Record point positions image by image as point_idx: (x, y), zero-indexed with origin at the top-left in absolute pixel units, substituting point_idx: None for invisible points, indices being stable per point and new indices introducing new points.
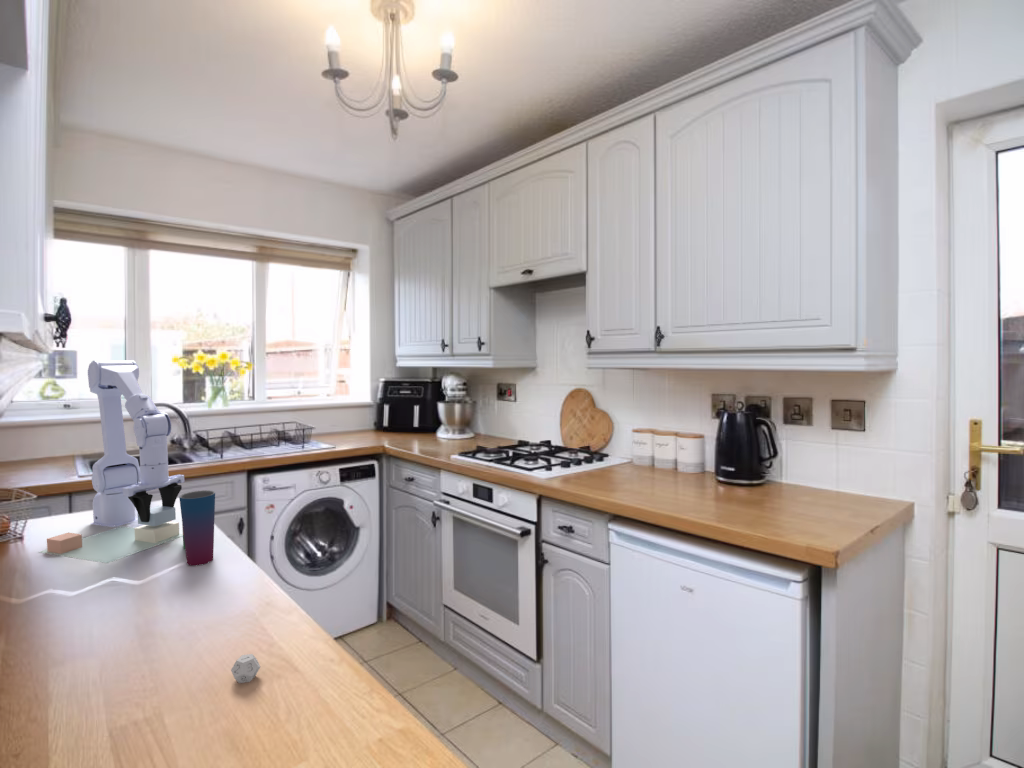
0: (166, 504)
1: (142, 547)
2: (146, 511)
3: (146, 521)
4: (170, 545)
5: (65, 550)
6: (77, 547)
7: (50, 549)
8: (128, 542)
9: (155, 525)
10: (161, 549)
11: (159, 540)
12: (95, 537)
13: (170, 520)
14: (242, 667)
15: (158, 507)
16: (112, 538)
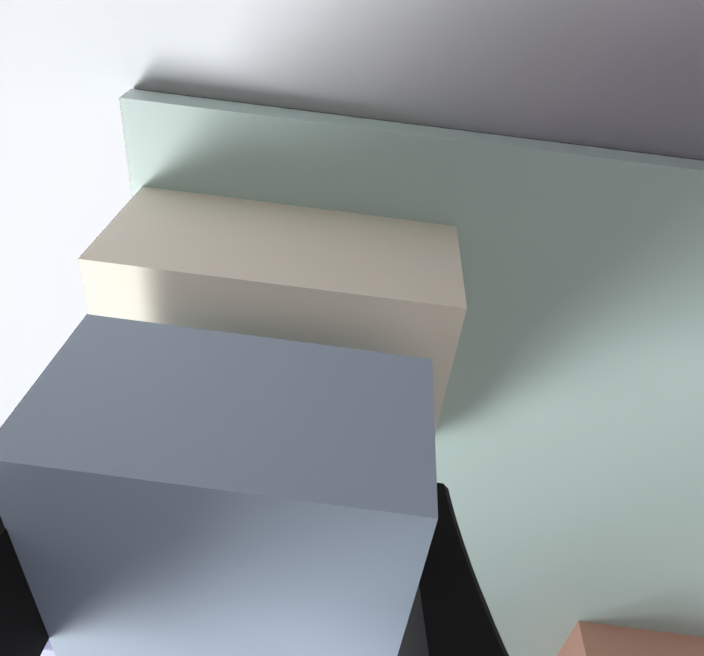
0: (9, 625)
1: (601, 247)
2: (502, 644)
3: (450, 498)
4: (424, 31)
5: (687, 647)
6: (610, 631)
7: None
8: (468, 450)
9: (422, 362)
10: (575, 26)
11: (397, 224)
12: None
13: (173, 330)
14: None
15: (122, 640)
16: None
